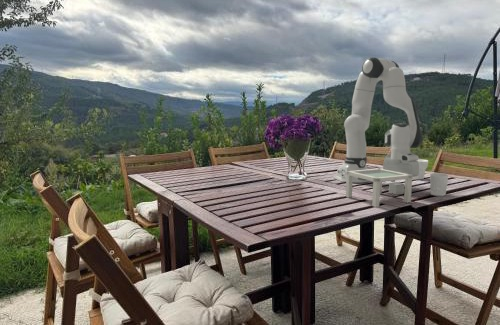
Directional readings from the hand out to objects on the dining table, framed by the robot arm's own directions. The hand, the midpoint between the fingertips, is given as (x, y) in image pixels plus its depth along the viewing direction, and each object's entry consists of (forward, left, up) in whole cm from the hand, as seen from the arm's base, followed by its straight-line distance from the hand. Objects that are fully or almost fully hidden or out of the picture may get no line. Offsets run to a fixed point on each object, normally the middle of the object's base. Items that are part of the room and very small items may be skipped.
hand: (399, 183), depth 188 cm
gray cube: (-1, -1, -5) cm, 5 cm away
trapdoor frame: (+6, -19, -5) cm, 21 cm away
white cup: (+10, +15, -5) cm, 19 cm away
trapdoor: (+6, -19, +4) cm, 21 cm away
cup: (-27, +39, -5) cm, 47 cm away
